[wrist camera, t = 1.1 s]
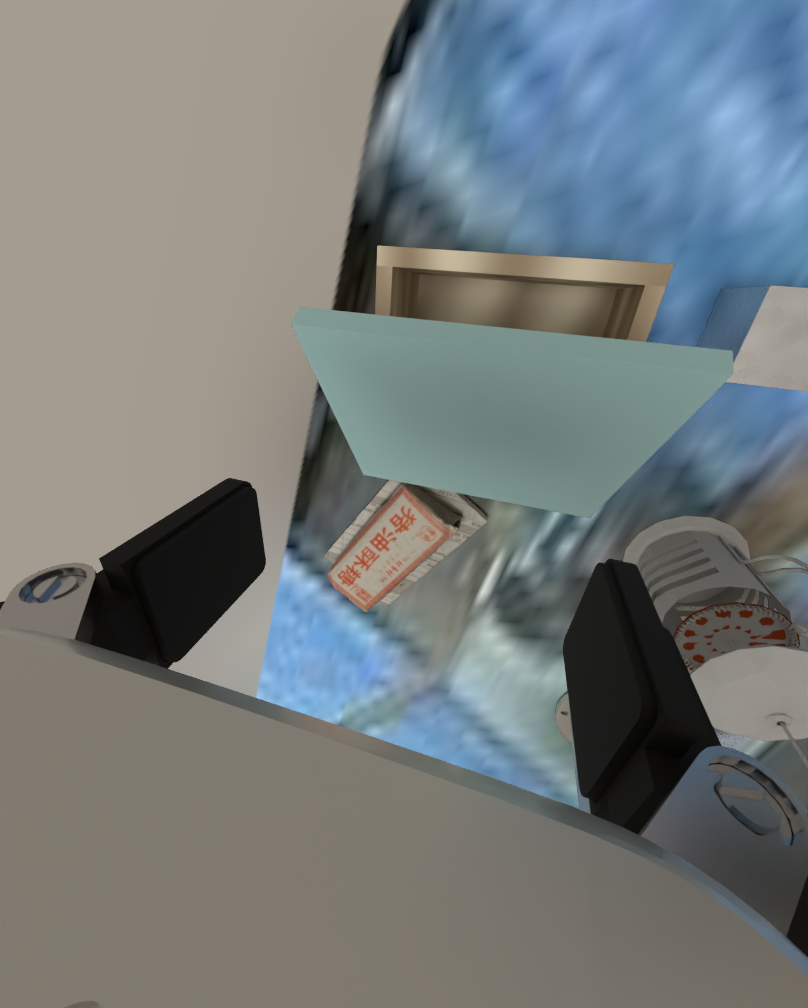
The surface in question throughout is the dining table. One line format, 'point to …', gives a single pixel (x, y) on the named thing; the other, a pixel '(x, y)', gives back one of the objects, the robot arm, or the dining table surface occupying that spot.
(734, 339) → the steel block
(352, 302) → the dining table surface
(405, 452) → the lid
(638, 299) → the storage box
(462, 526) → the packaged product
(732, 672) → the french press
